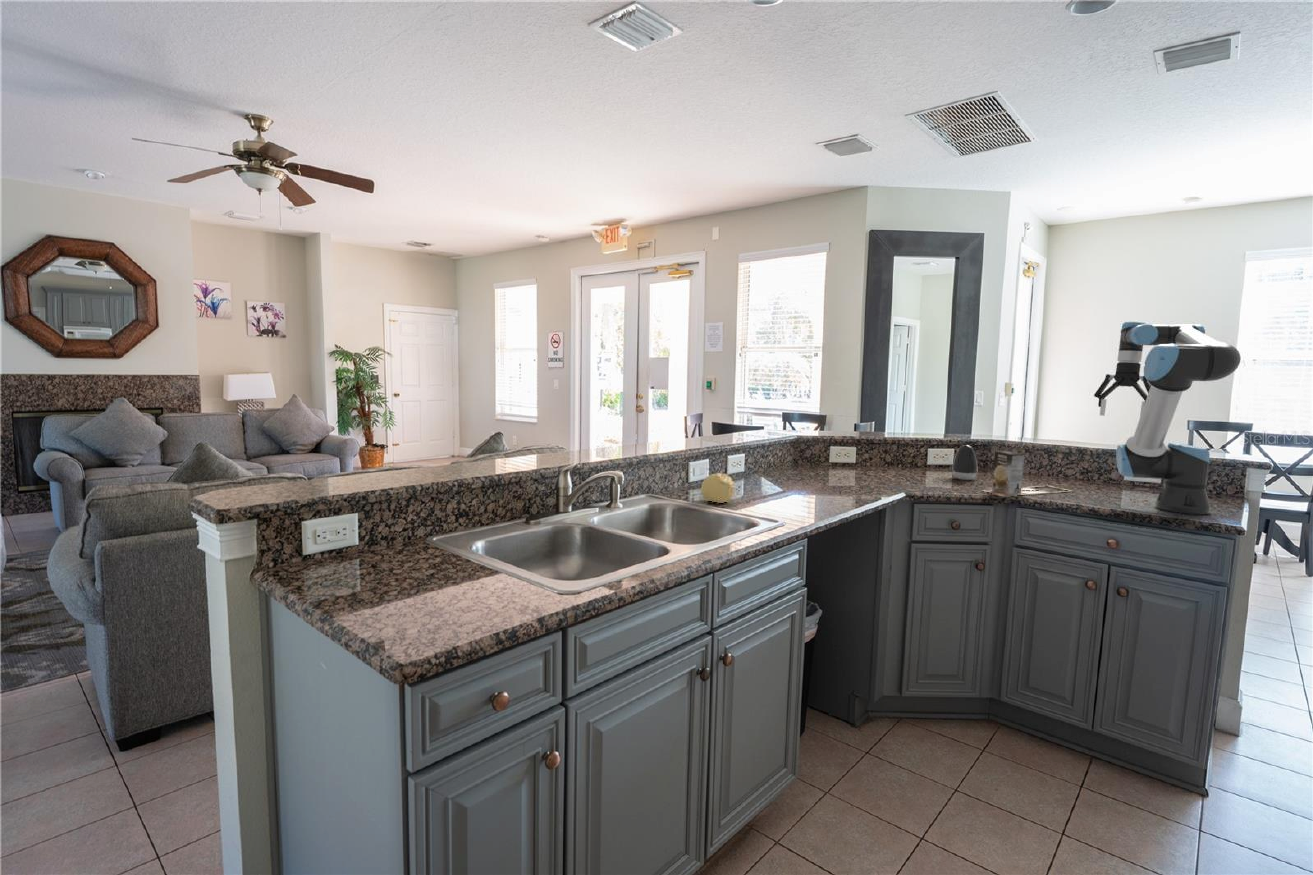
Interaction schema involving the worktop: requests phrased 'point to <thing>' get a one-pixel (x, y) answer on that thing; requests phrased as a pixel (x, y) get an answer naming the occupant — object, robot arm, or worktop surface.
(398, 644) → the worktop surface
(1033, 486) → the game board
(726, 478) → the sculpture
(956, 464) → the dark grey dome speaker
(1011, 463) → the coffee box
